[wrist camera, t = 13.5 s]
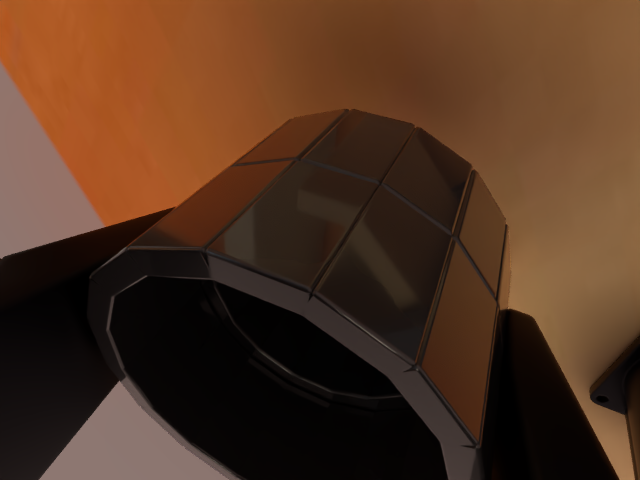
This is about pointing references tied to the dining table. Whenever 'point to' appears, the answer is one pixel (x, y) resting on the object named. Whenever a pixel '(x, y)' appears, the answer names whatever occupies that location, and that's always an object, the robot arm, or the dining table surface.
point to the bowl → (320, 309)
